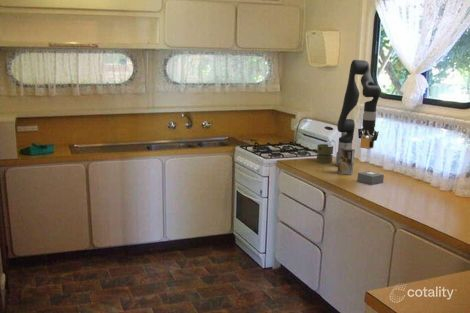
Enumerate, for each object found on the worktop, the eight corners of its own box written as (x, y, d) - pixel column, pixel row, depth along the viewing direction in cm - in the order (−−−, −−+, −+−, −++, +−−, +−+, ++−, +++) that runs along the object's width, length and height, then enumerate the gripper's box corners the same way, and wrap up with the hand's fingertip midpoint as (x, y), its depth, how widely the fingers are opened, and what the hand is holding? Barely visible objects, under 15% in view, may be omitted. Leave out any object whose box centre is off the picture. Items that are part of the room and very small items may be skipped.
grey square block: (357, 180, 299) (358, 172, 298) (368, 178, 306) (369, 170, 305) (371, 184, 291) (372, 175, 290) (383, 182, 297) (384, 173, 296)
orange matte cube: (360, 147, 295) (360, 137, 294) (365, 146, 298) (366, 137, 297) (367, 149, 291) (368, 139, 290) (373, 148, 294) (374, 138, 293)
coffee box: (353, 173, 319) (355, 149, 316) (350, 175, 314) (352, 150, 311) (339, 171, 323) (341, 147, 320) (337, 173, 318) (338, 149, 315)
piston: (326, 143, 359) (336, 146, 349) (325, 159, 361) (335, 162, 352) (314, 144, 353) (324, 147, 344) (313, 160, 356) (323, 163, 346)
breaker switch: (365, 177, 298) (365, 172, 298) (369, 176, 301) (370, 171, 300) (371, 178, 295) (371, 174, 294) (375, 178, 297) (376, 173, 297)
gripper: (383, 120, 288) (380, 148, 291) (363, 117, 299) (361, 144, 302) (375, 120, 283) (372, 149, 287) (355, 117, 295) (353, 145, 298)
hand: (366, 146), depth 295 cm, fingers closed on orange matte cube, 5 cm apart
